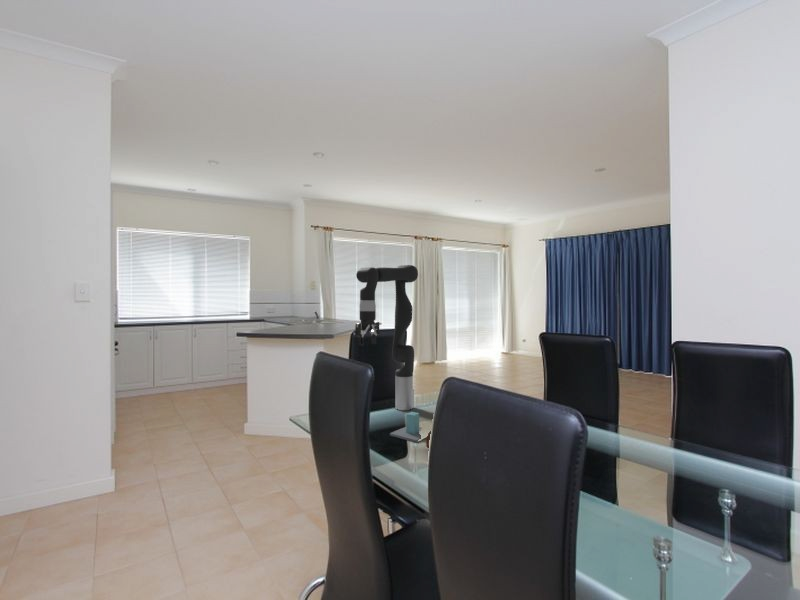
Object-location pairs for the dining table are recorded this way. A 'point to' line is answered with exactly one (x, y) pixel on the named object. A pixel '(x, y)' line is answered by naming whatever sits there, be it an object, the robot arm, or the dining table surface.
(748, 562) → the dining table surface
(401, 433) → the mat
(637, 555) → the dining table surface
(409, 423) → the block
